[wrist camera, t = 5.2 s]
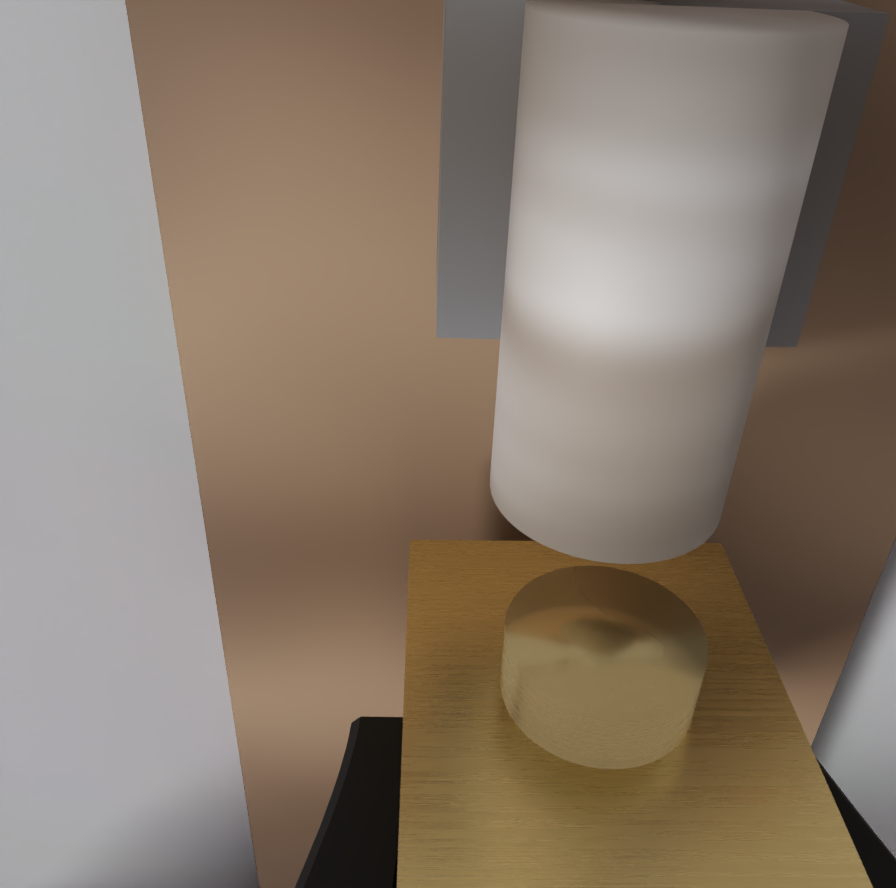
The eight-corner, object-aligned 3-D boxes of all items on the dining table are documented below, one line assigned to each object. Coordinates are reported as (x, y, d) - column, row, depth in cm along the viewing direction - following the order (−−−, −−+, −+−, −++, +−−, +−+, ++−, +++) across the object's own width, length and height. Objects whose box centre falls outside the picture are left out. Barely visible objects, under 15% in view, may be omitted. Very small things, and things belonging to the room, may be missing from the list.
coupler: (661, 778, 14) (763, 1174, 9) (409, 777, 14) (398, 1176, 9) (733, 492, 11) (930, 886, 6) (410, 488, 11) (393, 885, 6)
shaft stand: (705, 918, 20) (771, 1173, 16) (279, 915, 20) (240, 1173, 16) (1149, -299, 8) (1808, -473, 4) (113, -349, 8) (-207, -584, 4)
